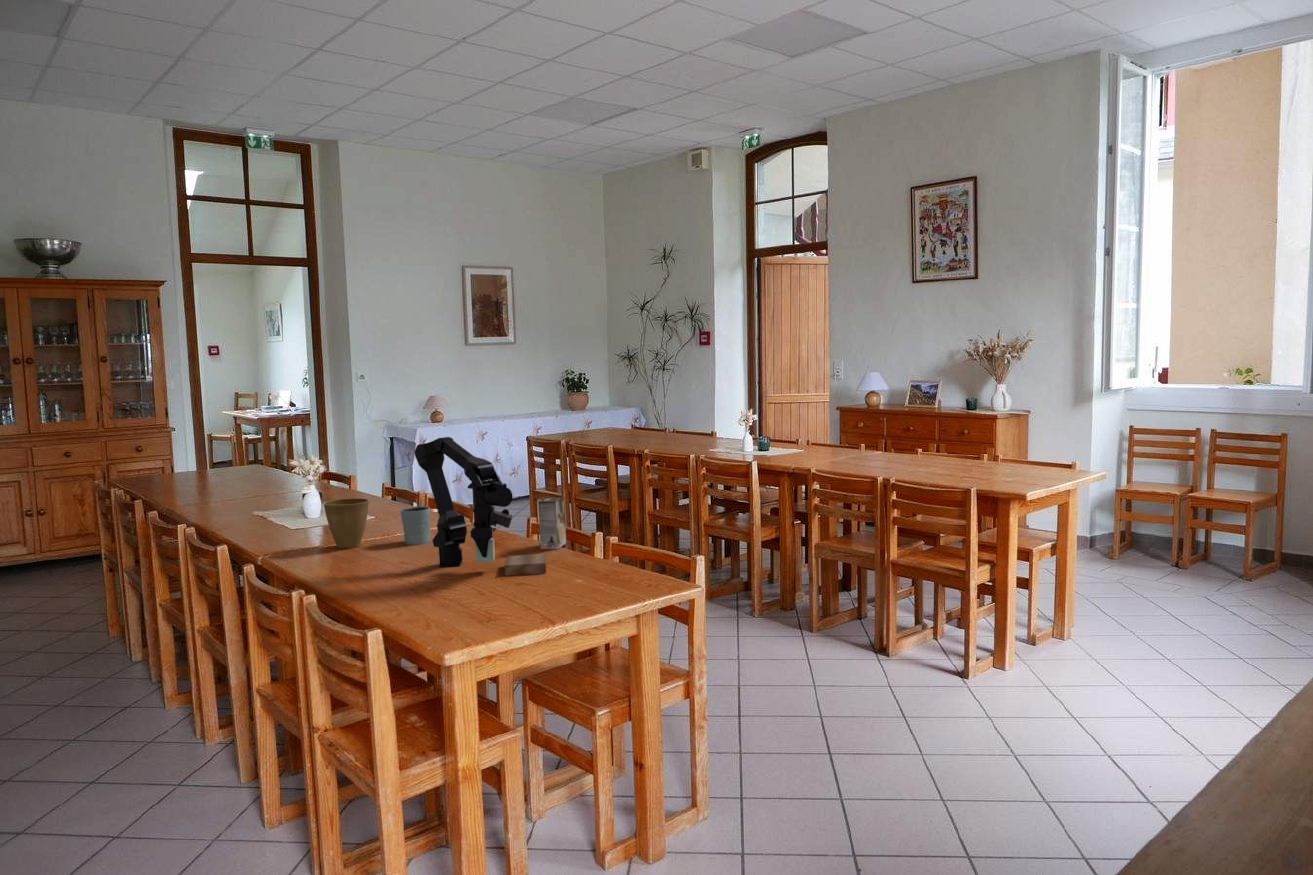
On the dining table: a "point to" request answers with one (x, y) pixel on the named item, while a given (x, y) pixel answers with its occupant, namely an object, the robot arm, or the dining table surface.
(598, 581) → the dining table surface
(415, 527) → the blue-grey cup
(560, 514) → the coffee box
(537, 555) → the grayish brown panel
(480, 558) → the sage block
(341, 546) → the plant pot
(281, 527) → the dining table surface
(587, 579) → the dining table surface
